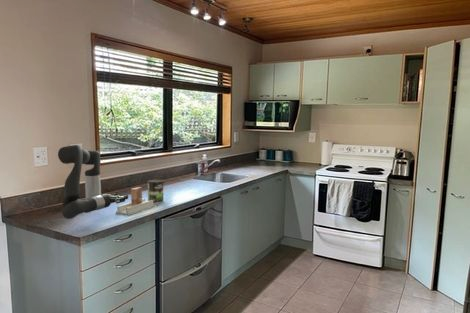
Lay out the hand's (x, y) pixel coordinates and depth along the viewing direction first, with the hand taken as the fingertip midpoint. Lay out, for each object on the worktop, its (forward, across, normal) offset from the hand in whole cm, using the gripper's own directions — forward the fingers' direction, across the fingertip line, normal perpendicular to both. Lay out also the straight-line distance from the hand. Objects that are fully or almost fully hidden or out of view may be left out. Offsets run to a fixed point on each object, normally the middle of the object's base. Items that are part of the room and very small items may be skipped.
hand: (122, 195), depth 197 cm
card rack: (+11, 0, +11) cm, 15 cm away
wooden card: (+12, 0, +10) cm, 15 cm away
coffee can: (+31, +2, +11) cm, 33 cm away
